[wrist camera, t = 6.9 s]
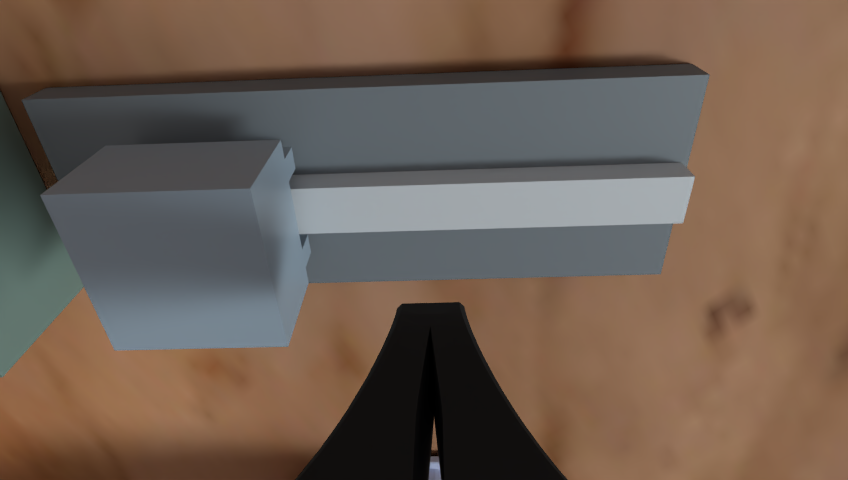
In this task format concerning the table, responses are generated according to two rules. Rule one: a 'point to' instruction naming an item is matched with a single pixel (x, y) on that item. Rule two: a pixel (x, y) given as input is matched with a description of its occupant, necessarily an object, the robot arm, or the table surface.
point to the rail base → (435, 162)
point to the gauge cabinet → (27, 251)
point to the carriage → (186, 243)
